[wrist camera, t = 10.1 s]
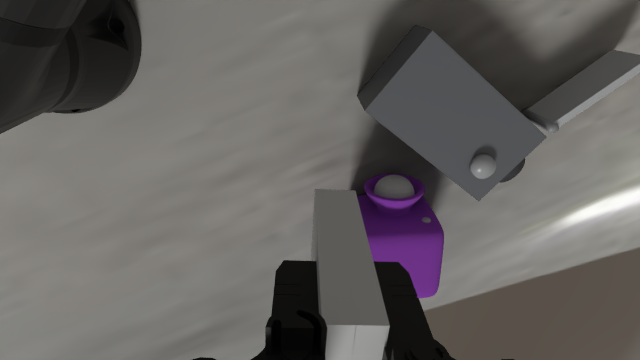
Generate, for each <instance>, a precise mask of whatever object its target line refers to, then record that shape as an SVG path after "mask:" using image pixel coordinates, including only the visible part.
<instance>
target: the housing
mask: <svg viewBox="0 0 640 360" xmlns="http://www.w3.org/2000/svg"><path fill="white" fill-rule="evenodd" d="M357 97H358V99H359V101H360V103H361V105H362V107H363V109H364V111H366V112H367V113H368V114H369V115H371V116H372V117H373V118H374V119H376V120H377V121H378V122H379V123H381V124H382V125H383V126H384V127H386V128H387V129H388V130H389V131H391V132H392V133H393V134H395V135H396V136H397V137H398V138H400V139H401V140H402V141H403V142H405V143H406V144H407V145H408V146H410V147H411V148H412V149H413V150H415V151H416V152H417V153H418V154H420V155H421V156H422V157H424V158H425V159H426V160H427V161H429V162H430V163H431V164H432V165H434V166H435V167H436V168H437V169H439V170H440V171H441V172H442V173H444V174H445V175H446V176H447V177H449V178H450V179H451V180H453V181H454V182H455V183H456V184H458V185H459V186H460V187H461V188H463V189H464V190H465V191H466V192H468V193H469V194H470V195H471V196H473V197H474V198H475V199H477V200H478V201H480V200H481V199H482V198H483V197H484V196H485V195H486V194H487V193H488V192H489V191H490V190H491V189H492V188H493V187H494V186H495V185H497V184H498V183H499V182H506V181H509V180H510V179H512V178H514V177H515V176H516V175H517V174H518V173H519V172H520V171H521V170H522V168H523V166H524V163H525V157H526V156H527V155H528V154H529V153H531V152H532V151H533V150H534V149H535V148H536V147H537V146H538V145H539V144H540V143H541V142H542V141H543V140H544V139H545V138H546V136H545V135H544V134H543V133H542V132H541V131H540V130H539V129H538V128H537V127H536V126H535V125H533V124H532V123H531V122H530V121H529V120H528V119H527V118H526V117H525V116H524V115H523V114H522V113H521V112H520V111H518V110H517V109H516V108H515V107H514V106H513V105H512V104H511V103H510V102H509V101H508V100H507V99H506V98H505V97H503V96H502V95H501V94H500V93H499V92H498V91H497V90H496V89H495V88H494V87H493V86H492V85H491V84H490V83H488V82H487V81H486V80H485V79H484V78H483V77H482V76H481V75H480V74H479V73H478V72H477V71H476V70H475V69H473V68H472V67H471V66H470V65H469V64H468V63H467V62H466V61H465V60H464V59H463V58H462V57H461V56H460V55H458V54H457V53H456V52H455V51H454V50H453V49H452V48H451V47H450V46H449V45H448V44H447V43H446V42H445V41H443V40H442V39H441V38H440V37H439V36H438V35H437V34H436V33H435V32H434V31H433V30H430V29H427V28H424V27H420V26H417V25H415V26H414V27H413V28H412V29H411V31H410V32H409V33H408V34H407V35H406V37H405V38H404V39H403V40H402V41H401V43H400V44H399V45H398V46H397V48H396V49H395V50H394V51H393V52H392V54H391V55H390V56H389V57H388V58H387V60H386V61H385V62H384V63H383V65H382V66H381V67H380V68H379V69H378V71H377V72H376V73H375V74H374V75H373V77H372V78H371V79H370V80H369V82H368V83H367V84H366V85H365V86H364V88H363V89H362V90H361V91H360V92H359V94H358V95H357Z"/></svg>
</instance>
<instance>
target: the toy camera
mask: <svg viewBox="0 0 640 360" xmlns="http://www.w3.org/2000/svg"><path fill="white" fill-rule="evenodd" d="M364 190H365V192H366V194H367V195H360V196H357V199H358V203H359V207H360V211H361V215H362V219H363V222H364V226H365V230H366V234H367V238H368V242H369V246H370V250H371V254H372V258H373V261H378V262H399V263H400V264H401V265H402V266H403V267H404V268H405V269H406V270H407V271H408V272H409V274H410V277H411V279H412V282H413V285H414V288H415V290H416V293H417V298H426V297H431V296H433V295H435V294H436V292H437V290H438V286H439V280H440V273H441V264H442V254H443V245H444V233H443V229H442V227H441V225H440V223H439V221H438V219H437V217H436V215H435V214H434V212H433V210H432V208H431V207H430V205H429V204H428V202H427V200H426V199H425V198H424V197H423V196H422V195H423V194H424V192H425V186H424V184H423V183H422V182H421V181H419V180H418V179H415V178H413V177H410V176H407V175H402V174H383V175H378V176H375V177H372V178H370V179H369V180H367V181H366V183H365V184H364Z"/></svg>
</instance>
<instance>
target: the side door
mask: <svg viewBox="0 0 640 360" xmlns="http://www.w3.org/2000/svg"><path fill="white" fill-rule="evenodd" d="M638 73H640V55H637V54H632V53H627V52H622V51H616V50H611V51H609V52H608V53H606V54H605V55H604V56H602V57H601V58H599V59H598V60H596V61H595V62H594V63H592V64H591V65H589V66H588V67H587V68H585V69H584V70H582V71H581V72H579V73H578V74H577V75H575V76H574V77H572V78H571V79H569V80H568V81H567V82H565V83H564V84H562V85H561V86H560V87H558V88H557V89H555V90H554V91H552V92H551V93H550V94H548V95H547V96H545V97H544V98H543V99H541V100H540V101H538V102H537V103H535V104H534V105H533V106H531V107H530V108H528V109H527V108H526V109H524V110H522V112H521V113H522V114H523V115H524V116H525V117H526V118H527V119H528V120H529V121H531V122H532V123H534V124H536V125H538V126H539V127H541V128H543V129H544V130H546V131H548V132H550V133H555V132H557V131H558V129H559V127H560V126H562V125H563V124H565V123H566V122H568V121H569V120H571V119H572V118H573V117H575V116H576V115H578V114H579V113H581V112H582V111H584V110H585V109H587V108H588V107H590V106H591V105H593V104H594V103H596V102H597V101H599V100H600V99H602V98H603V97H605V96H606V95H607V94H609V93H610V92H612V91H613V90H615V89H616V88H618V87H619V86H621V85H622V84H624V83H625V82H627V81H628V80H630V79H631V78H633V77H634V76H636V75H637V74H638Z"/></svg>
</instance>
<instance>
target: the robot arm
mask: <svg viewBox="0 0 640 360" xmlns="http://www.w3.org/2000/svg"><path fill="white" fill-rule="evenodd" d="M140 56H141V39H140V32H139V27H138V24H137V20H136V17H135V15H134V12H133V10H132V8H131V6H130V4H129V2H128V0H0V134H1V133H3V132H5V131H7V130H9V129H11V128H13V127H15V126H17V125H19V124H21V123H23V122H26V121H28V120H30V119H32V118H34V117H36V116H38V115H40V114H42V113H51V112H55V113H82V112H87V111H91V110H94V109H97V108H99V107H101V106H103V105H105V104H107V103H109V102H110V101H112V100H114V99H115V98H117V97H118V96H120V95H121V94H122V93H123V92H124V91H125V90H126V89H127V88H128V86H129V85H130V84H131V82H132V81H133V79H134V77H135V75H136V72H137V69H138V66H139V62H140ZM311 253H312V261H289V260H284V261H283V262H282V264H281V265H280V266H279V268H278V269H277V270H276V276H275V286H274V297H273V305H272V315H271V317H270V318H269V320H268V322H267V325H266V346H265V348H264V349H263V350H262V351H261V352H260V353H259V354H258V355H257V356H256V357H254V358H253V359H251V360H455V359H454V358H452V357H451V356H450V355H449V353H448V352H447V350H446V349H445V347H443V346H442V345H441V344H440V343H439V342H438V341H436V340H434V339H433V337H432V333H431V331H430V328H429V325H428V323H427V320H426V317H425V315H424V312H423V309H422V306H421V304H420V301H419V298H417V293H416V290H415V288H414V285H413V282H412V279H411V277H410V274H409V272H408V271H407V270H406V269H405V268H404V267H403V266H402V265H401V264H400V263H399V262H378V261H373V258H372V254H371V250H370V246H369V242H368V238H367V234H366V230H365V226H364V222H363V219H362V215H361V211H360V207H359V203H358V199H357V195H356V191H355V190H327V189H315V196H314V214H313V231H312V249H311ZM193 360H216V359H213V358H201V357H200V358H196V359H193ZM502 360H514V359H502Z"/></svg>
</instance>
